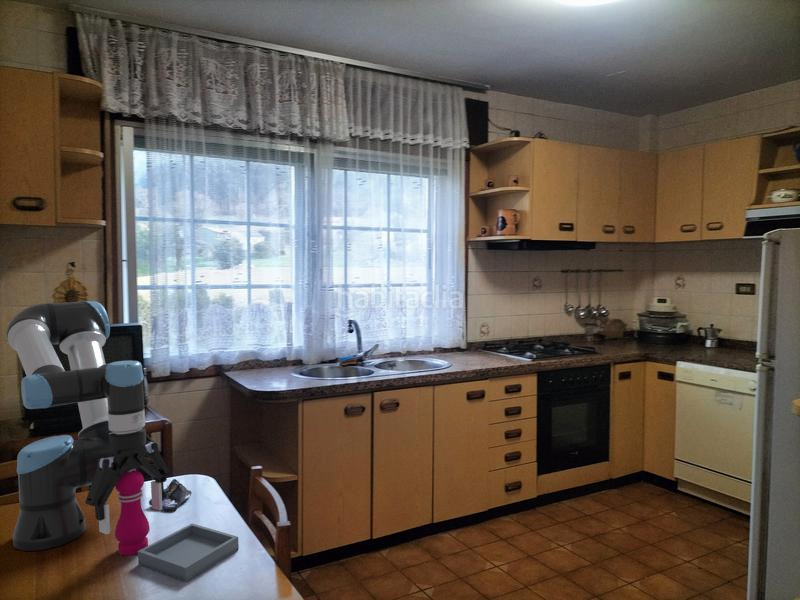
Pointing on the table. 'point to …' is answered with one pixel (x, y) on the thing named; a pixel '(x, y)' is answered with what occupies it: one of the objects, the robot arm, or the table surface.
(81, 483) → the robot arm
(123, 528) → the pepper mill
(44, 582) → the table surface
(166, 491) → the snack package
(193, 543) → the tray
